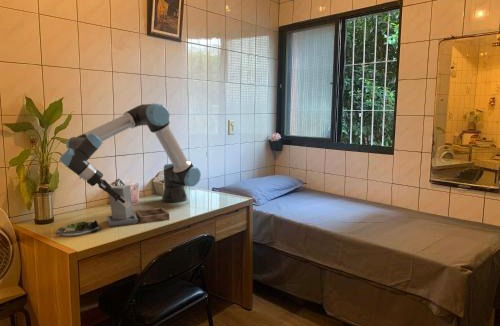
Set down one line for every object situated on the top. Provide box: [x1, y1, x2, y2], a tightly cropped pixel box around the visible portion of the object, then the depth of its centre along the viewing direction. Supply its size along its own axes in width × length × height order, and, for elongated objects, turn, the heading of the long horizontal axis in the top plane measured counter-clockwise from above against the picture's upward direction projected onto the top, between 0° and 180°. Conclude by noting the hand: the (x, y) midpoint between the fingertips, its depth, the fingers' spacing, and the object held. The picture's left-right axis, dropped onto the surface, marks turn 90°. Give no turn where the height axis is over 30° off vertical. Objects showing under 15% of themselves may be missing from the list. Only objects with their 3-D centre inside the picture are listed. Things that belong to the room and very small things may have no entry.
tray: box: [106, 212, 139, 228], centre depth 185 cm, size 13×13×2 cm
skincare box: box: [108, 184, 134, 219], centre depth 184 cm, size 8×7×16 cm
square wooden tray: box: [135, 207, 170, 224], centre depth 192 cm, size 14×14×3 cm
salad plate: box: [55, 219, 101, 237], centre depth 171 cm, size 19×18×5 cm
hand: (127, 204), depth 185 cm, fingers closed on skincare box, 10 cm apart
